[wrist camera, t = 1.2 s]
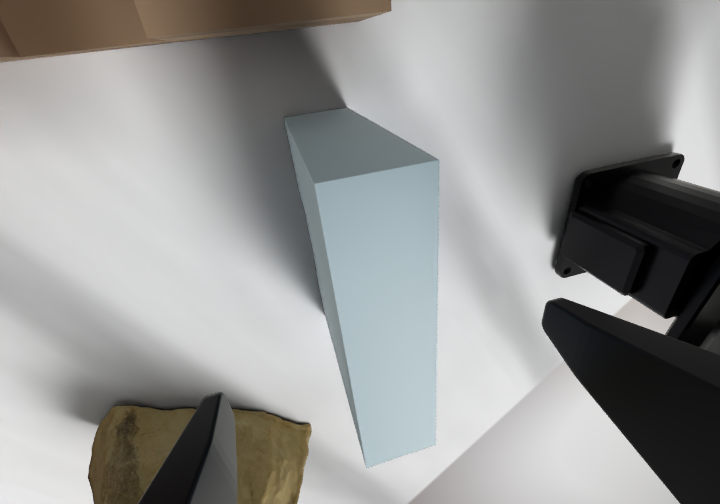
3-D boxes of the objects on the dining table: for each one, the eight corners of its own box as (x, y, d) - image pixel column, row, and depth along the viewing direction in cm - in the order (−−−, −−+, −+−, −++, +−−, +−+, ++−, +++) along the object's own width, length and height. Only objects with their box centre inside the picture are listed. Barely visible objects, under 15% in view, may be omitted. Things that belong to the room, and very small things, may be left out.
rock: (0, 491, 15) (155, 579, 20) (-22, 656, 9) (211, 732, 13) (201, 318, 21) (287, 414, 26) (270, 346, 15) (369, 467, 19)
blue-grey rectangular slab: (283, 117, 13) (314, 184, 6) (347, 107, 14) (439, 159, 7) (325, 316, 18) (366, 468, 12) (370, 304, 19) (435, 444, 12)
